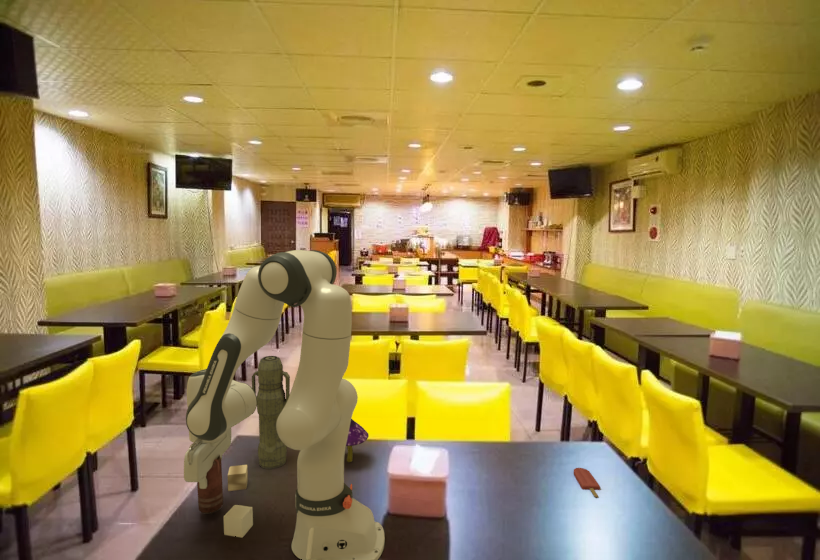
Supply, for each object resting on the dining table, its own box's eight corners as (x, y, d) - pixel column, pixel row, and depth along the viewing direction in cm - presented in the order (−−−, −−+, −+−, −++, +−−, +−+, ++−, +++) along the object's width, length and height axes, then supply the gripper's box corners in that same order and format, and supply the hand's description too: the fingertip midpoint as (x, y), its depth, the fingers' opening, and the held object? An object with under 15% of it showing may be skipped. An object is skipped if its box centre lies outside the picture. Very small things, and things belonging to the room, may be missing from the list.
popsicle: (587, 493, 134) (570, 467, 149) (587, 499, 134) (570, 471, 149) (606, 494, 134) (587, 467, 149) (605, 499, 134) (587, 472, 149)
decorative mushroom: (328, 455, 157) (328, 412, 155) (365, 450, 160) (365, 409, 158) (332, 474, 145) (331, 428, 143) (371, 469, 148) (372, 424, 146)
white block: (253, 525, 120) (252, 507, 120) (242, 537, 115) (241, 519, 115) (235, 522, 121) (234, 504, 121) (224, 535, 116) (223, 516, 116)
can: (215, 516, 120) (212, 464, 119) (193, 513, 122) (190, 462, 120) (228, 502, 126) (226, 453, 125) (208, 499, 128) (205, 451, 126)
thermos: (289, 468, 148) (287, 361, 144) (251, 469, 147) (248, 362, 143) (293, 454, 157) (291, 353, 153) (257, 456, 156) (254, 354, 152)
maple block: (247, 480, 141) (247, 464, 141) (246, 489, 136) (245, 473, 136) (230, 482, 140) (229, 466, 139) (228, 491, 135) (227, 475, 135)
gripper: (200, 448, 111) (204, 502, 113) (234, 414, 131) (237, 460, 133) (174, 448, 111) (178, 502, 113) (212, 414, 132) (215, 460, 133)
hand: (210, 479), depth 123 cm, fingers closed on can, 6 cm apart
